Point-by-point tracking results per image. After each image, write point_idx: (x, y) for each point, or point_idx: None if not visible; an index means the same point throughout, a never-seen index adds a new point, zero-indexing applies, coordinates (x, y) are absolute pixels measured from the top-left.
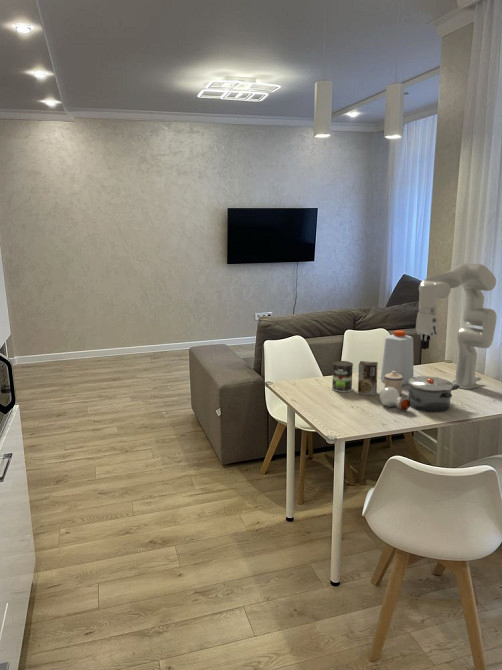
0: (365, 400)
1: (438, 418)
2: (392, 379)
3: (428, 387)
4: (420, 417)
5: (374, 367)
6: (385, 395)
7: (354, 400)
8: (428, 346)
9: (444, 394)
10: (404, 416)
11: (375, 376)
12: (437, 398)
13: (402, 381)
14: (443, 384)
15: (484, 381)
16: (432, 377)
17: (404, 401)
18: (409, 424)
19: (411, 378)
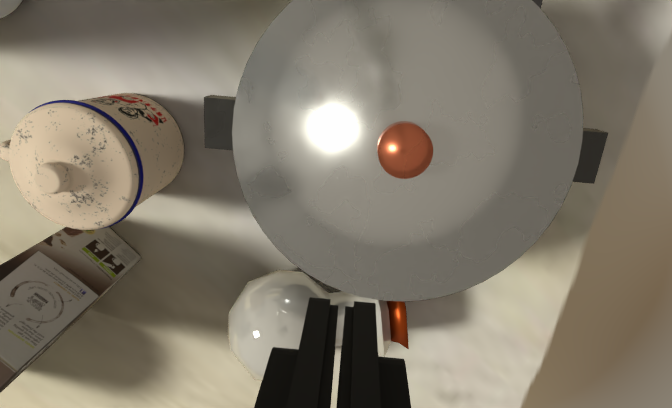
0: (180, 336)
1: (552, 225)
2: (123, 217)
3: (485, 259)
4: (488, 286)
5: (21, 368)
6: None
7: (159, 373)
8: (403, 366)
9: (572, 181)
10: (435, 334)
11: (72, 320)
12: None
13: None
14: (500, 93)
15: None
16: (308, 12)
17: (407, 344)
18: (513, 379)
19: (258, 202)
